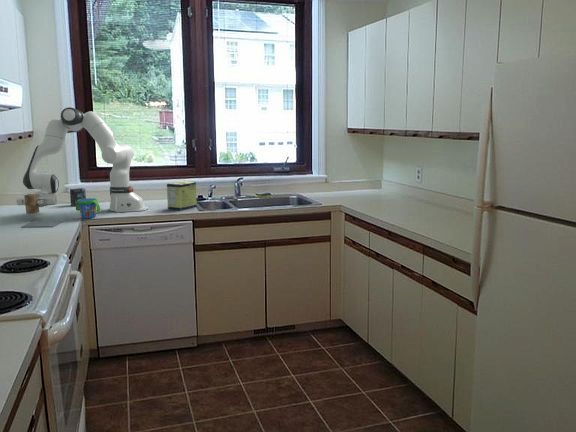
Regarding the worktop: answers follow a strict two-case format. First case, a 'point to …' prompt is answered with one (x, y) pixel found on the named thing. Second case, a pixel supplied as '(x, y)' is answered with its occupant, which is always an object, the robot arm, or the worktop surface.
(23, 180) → the robot arm
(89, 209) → the snack cup
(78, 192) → the box
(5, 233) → the worktop surface
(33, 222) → the mat
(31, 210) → the walnut block
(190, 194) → the protein box
